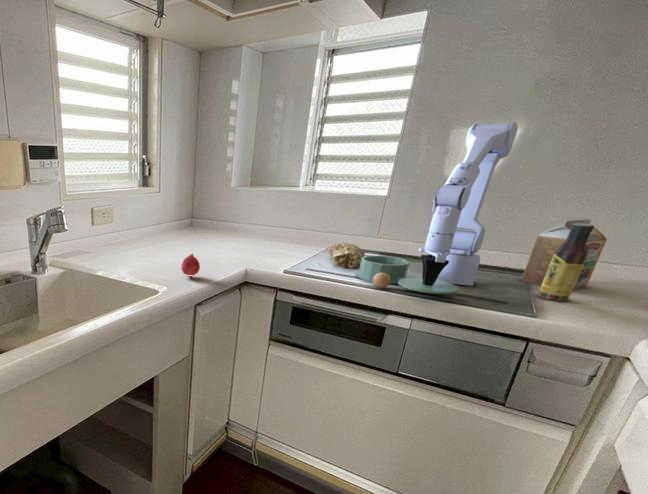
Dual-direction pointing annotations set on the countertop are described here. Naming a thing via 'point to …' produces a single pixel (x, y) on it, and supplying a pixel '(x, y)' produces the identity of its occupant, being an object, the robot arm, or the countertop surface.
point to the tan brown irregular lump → (346, 254)
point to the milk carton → (549, 245)
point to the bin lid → (427, 286)
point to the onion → (190, 265)
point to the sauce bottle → (566, 264)
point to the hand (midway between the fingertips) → (427, 282)
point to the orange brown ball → (381, 280)
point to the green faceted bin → (383, 268)
